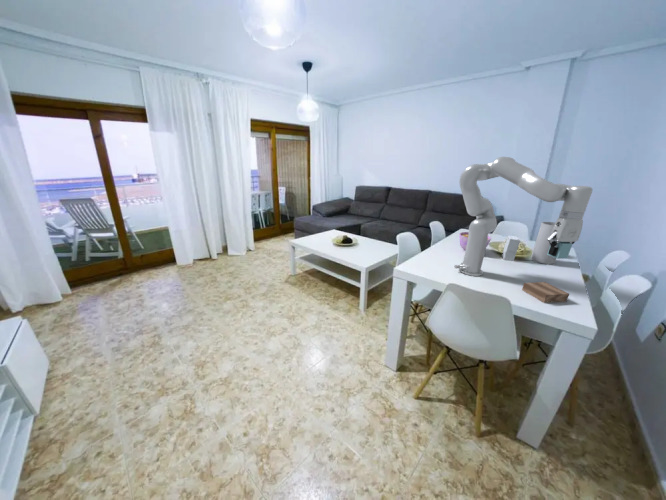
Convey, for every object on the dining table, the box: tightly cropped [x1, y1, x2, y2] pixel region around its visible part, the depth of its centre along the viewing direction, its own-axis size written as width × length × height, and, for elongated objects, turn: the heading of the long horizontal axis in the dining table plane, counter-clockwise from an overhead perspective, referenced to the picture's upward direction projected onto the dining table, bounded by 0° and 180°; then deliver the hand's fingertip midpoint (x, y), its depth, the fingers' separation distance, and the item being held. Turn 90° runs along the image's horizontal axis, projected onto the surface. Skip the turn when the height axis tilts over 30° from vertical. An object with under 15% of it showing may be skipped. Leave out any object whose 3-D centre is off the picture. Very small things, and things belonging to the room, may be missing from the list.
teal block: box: [547, 241, 573, 260], centre depth 113 cm, size 5×5×7 cm
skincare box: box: [501, 235, 521, 262], centre depth 166 cm, size 8×6×15 cm
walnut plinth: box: [521, 281, 570, 304], centre depth 121 cm, size 12×12×4 cm
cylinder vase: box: [530, 221, 557, 265], centre depth 161 cm, size 12×12×25 cm
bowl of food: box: [459, 231, 492, 251], centre depth 179 cm, size 20×20×12 cm
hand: (557, 254), depth 114 cm, fingers closed on teal block, 5 cm apart
